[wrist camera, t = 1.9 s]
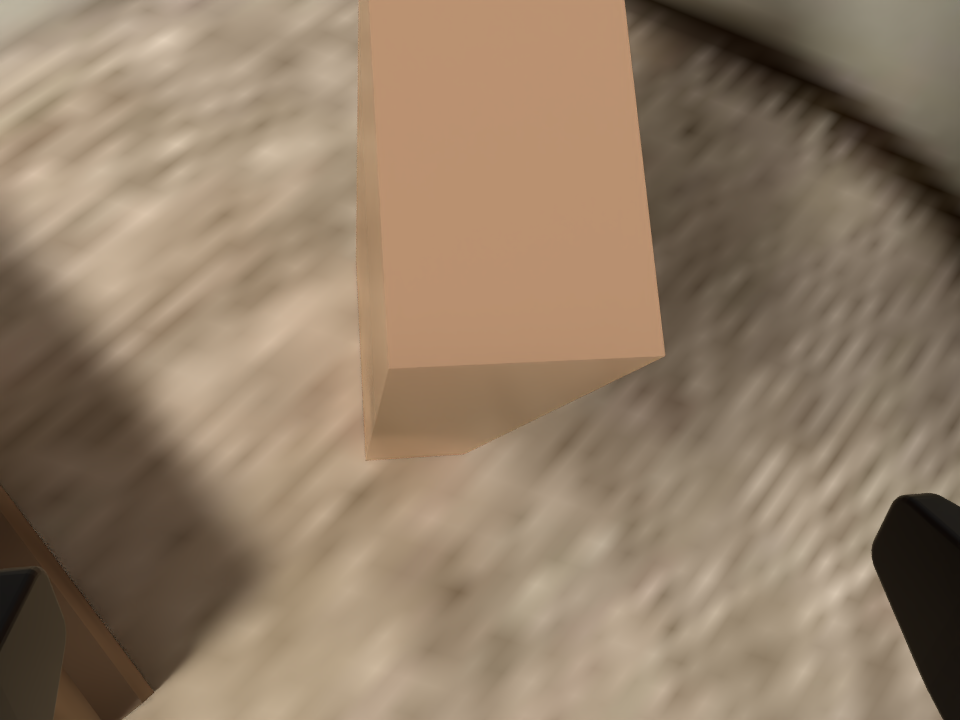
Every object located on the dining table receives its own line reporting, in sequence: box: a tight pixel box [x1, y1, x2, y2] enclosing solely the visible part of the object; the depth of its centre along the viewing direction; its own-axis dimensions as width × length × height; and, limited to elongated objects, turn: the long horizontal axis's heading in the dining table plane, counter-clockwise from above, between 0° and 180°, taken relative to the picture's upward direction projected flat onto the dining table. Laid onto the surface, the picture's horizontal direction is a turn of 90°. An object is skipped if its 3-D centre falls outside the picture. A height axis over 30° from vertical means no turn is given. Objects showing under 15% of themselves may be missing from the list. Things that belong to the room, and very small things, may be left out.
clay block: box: [356, 0, 665, 461], centre depth 13 cm, size 5×2×13 cm, turn 4°
